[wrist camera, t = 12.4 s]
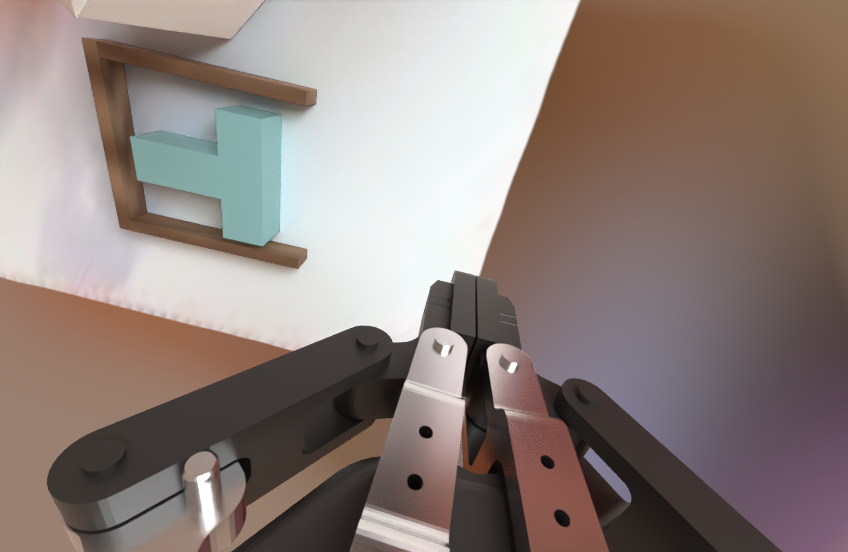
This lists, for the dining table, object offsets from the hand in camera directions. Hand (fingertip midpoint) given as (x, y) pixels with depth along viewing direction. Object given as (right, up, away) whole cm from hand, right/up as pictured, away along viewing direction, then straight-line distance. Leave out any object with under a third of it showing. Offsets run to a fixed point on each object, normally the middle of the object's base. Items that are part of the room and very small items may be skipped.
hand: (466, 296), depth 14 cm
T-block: (-22, +12, +25) cm, 35 cm away
